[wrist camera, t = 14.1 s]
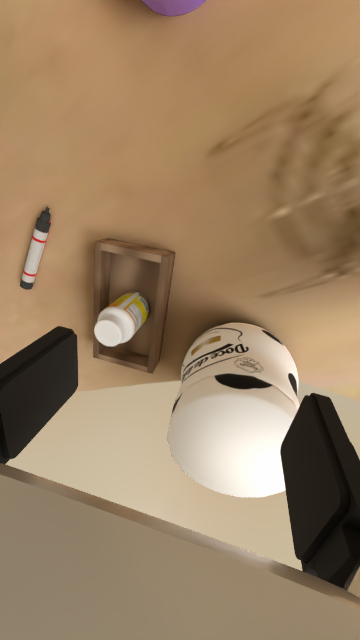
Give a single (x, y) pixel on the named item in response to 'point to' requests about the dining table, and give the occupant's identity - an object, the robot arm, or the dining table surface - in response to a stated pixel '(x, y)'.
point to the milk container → (234, 410)
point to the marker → (36, 250)
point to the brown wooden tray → (133, 276)
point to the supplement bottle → (122, 319)
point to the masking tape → (173, 6)
